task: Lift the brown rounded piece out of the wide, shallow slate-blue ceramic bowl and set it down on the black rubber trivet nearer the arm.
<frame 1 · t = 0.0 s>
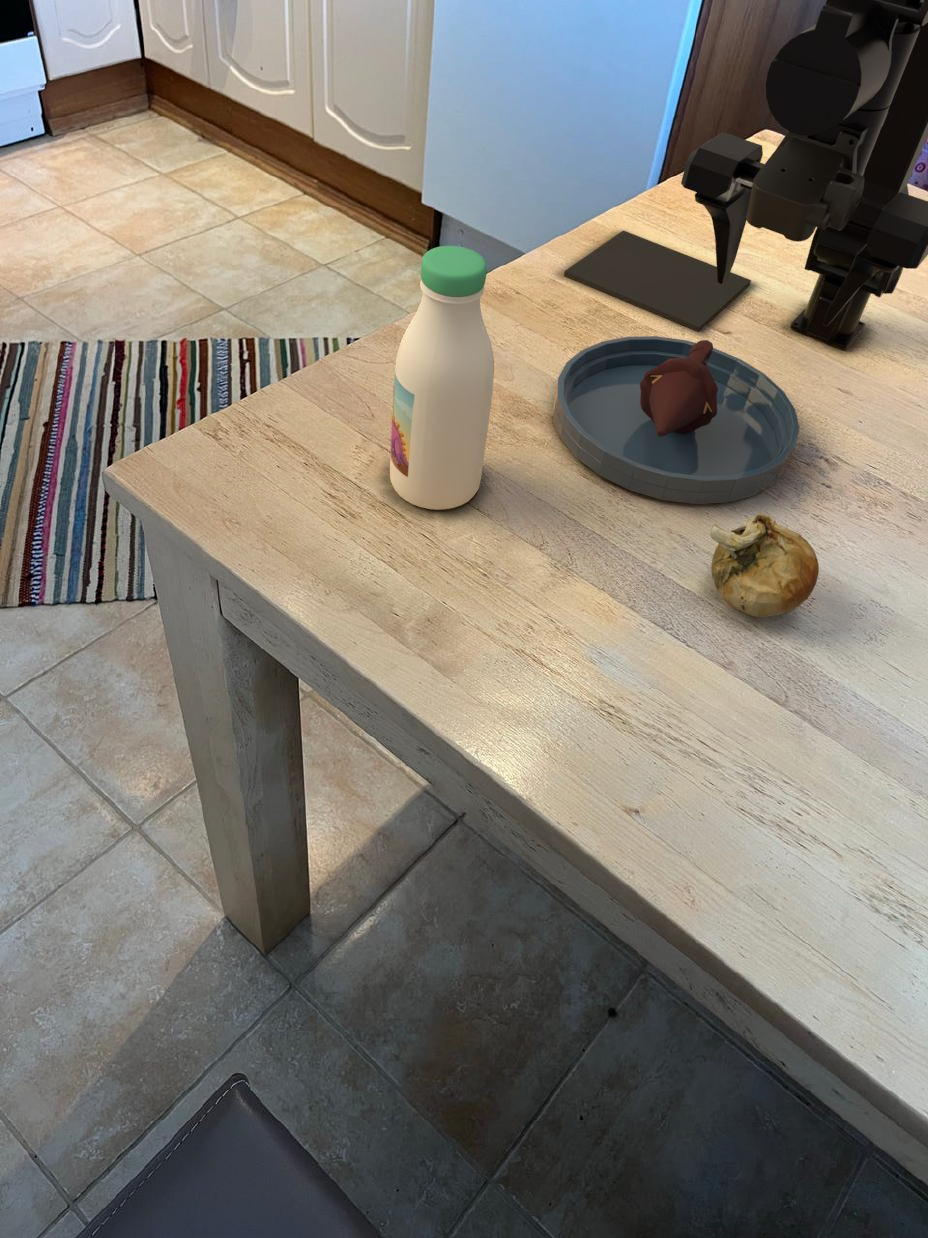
hand: (773, 302, 77), 15 cm above the table, tool pointing down, fingers open, 9 cm apart
onion: (747, 600, 75), on the table
trivet: (657, 280, 108), on the table
brown rounded piece: (670, 427, 89), resting on bowl
bowl: (669, 428, 89), on the table
milk bottle: (434, 484, 81), on the table
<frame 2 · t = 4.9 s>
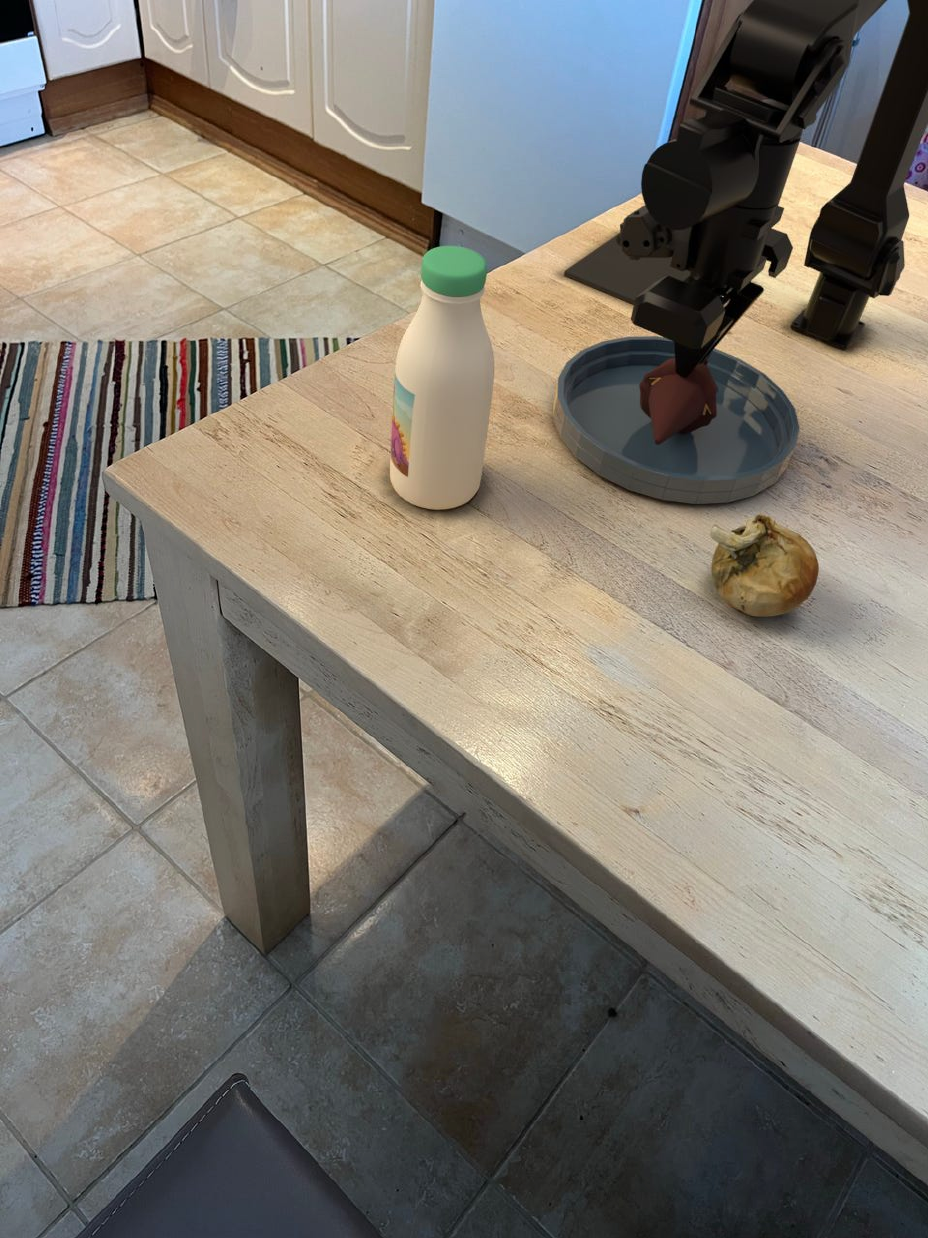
hand: (688, 368, 84), 7 cm above the table, tool pointing down, fingers closed on brown rounded piece, 2 cm apart
brown rounded piece: (670, 426, 89), resting on bowl, touching gripper
everything else where it was.
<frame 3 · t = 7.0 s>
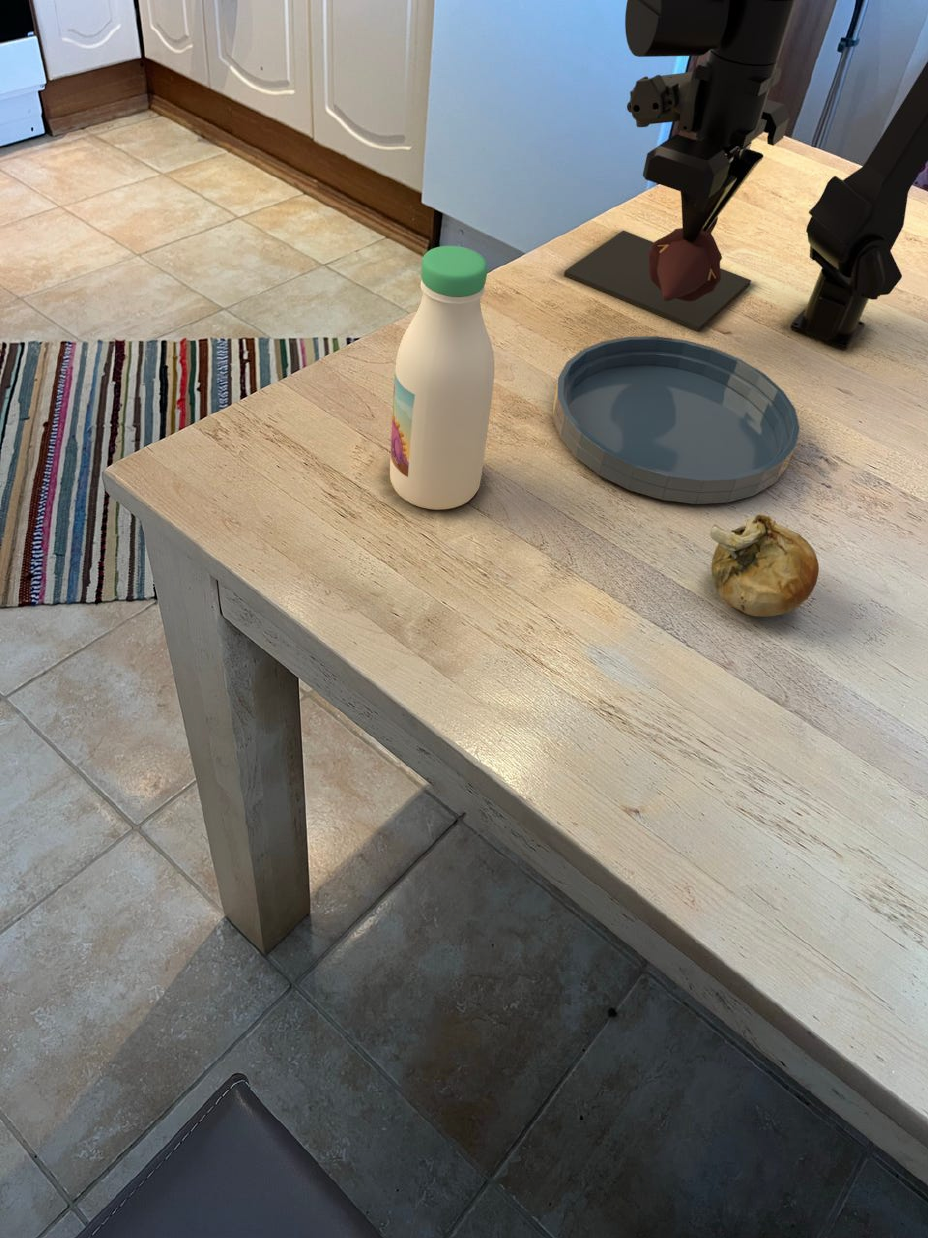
hand: (694, 234, 90), 12 cm above the table, tool pointing down, fingers closed on brown rounded piece, 2 cm apart
brown rounded piece: (677, 295, 95), point 6 cm above the table, touching gripper
everything else where it was.
when the fingers open (7 cm above the table, at t = 9.5 s): brown rounded piece stays where it is, resting on trivet.
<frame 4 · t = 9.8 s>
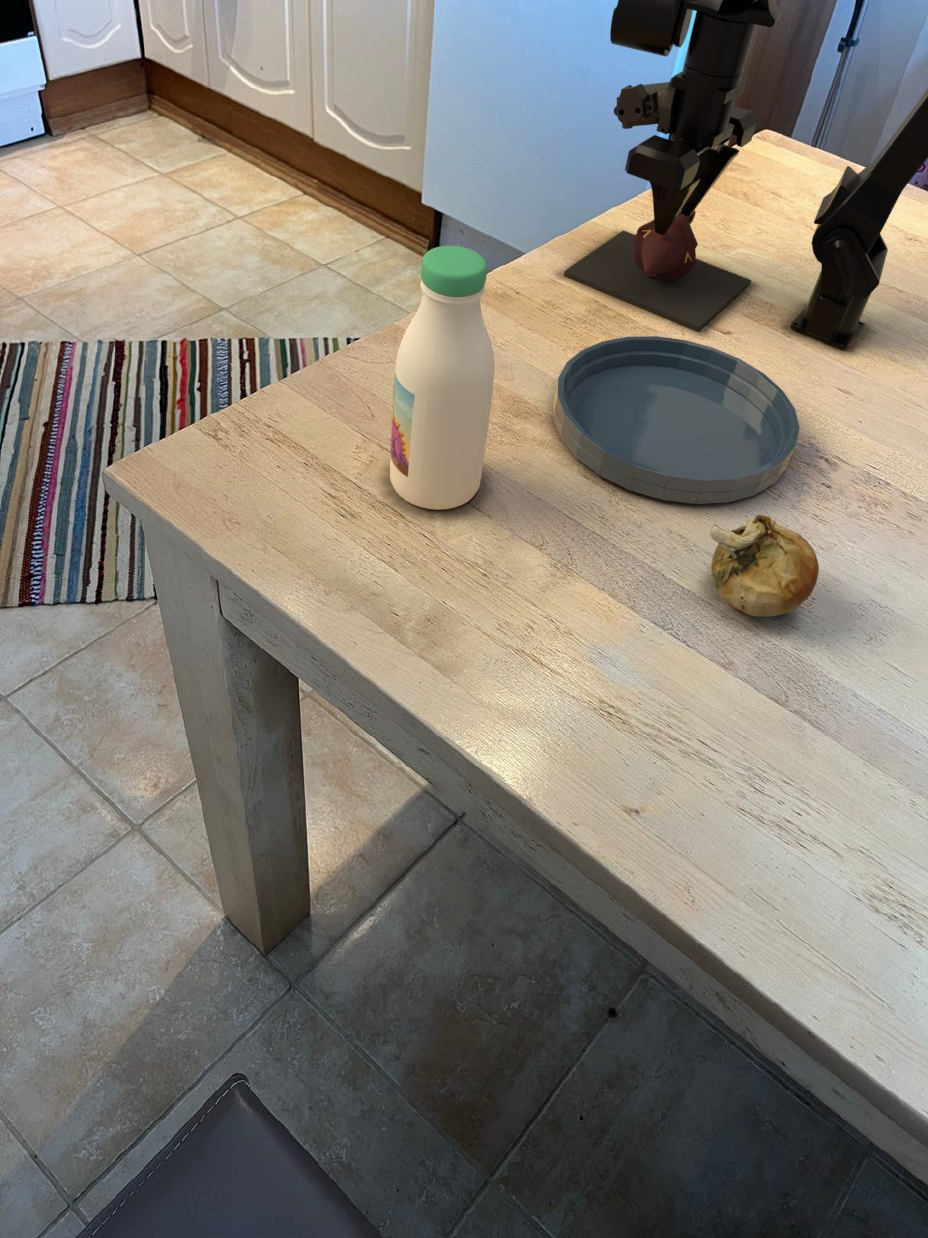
hand: (672, 223, 103), 7 cm above the table, tool pointing down, fingers open, 6 cm apart
brown rounded piece: (658, 278, 108), resting on trivet
everything else where it was.
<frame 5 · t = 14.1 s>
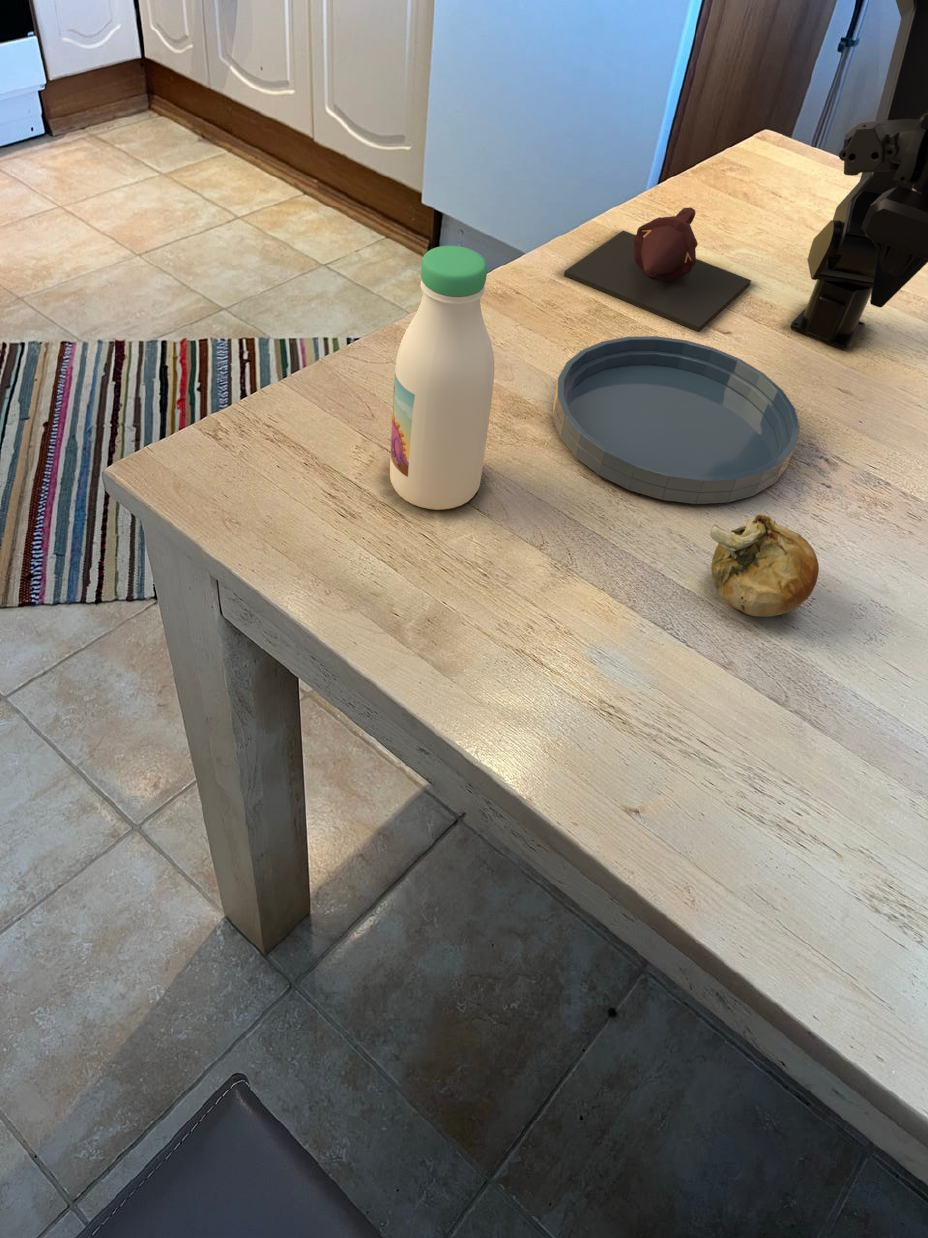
hand: (891, 286, 87), 12 cm above the table, tool pointing down, fingers open, 9 cm apart
nothing on the table moved.
at the end: brown rounded piece inside the target area on the trivet (0.3 cm from its centre), point 0.4 cm above the trivet's base; brown rounded piece touching trivet; the gripper is holding nothing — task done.
